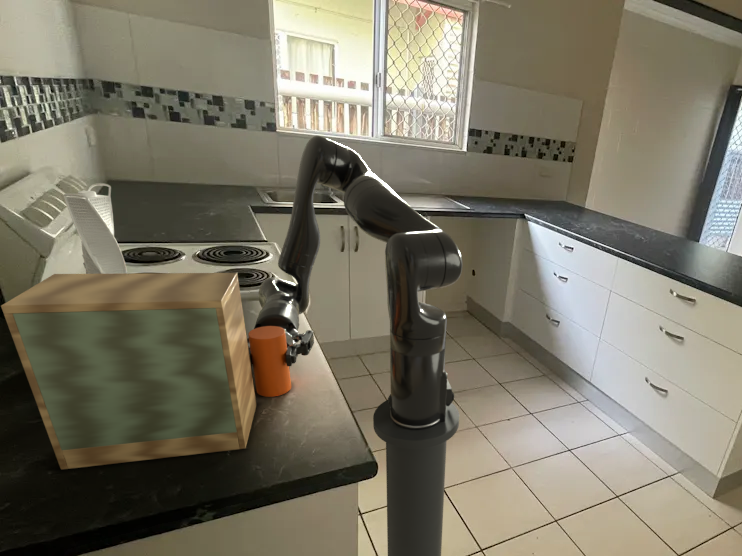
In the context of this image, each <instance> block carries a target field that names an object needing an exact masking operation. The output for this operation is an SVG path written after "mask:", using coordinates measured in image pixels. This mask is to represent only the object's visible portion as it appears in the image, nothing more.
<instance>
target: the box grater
mask: <svg viewBox="0 0 742 556" xmlns="http://www.w3.org/2000/svg"><path fill="white" fill-rule="evenodd" d="M101 186H102V187H108V193H107V195H106V194H105V195H103V194H97V192H96V191H95V190H93V188H95V187H101ZM111 193H112V186H111V185H110V184H108V183H105V182H104V183H103V182H96V183H93V184H91V185H90V186H89V187H88V188H87V190H79V191H77V193H76V192H75V193H74V192H66V193H64V194H63V199H64V202H65V205H66V208H67V211H68V212H69V216H70V217H71V220H72V223H73V225H74V228H75V230H76V233H77V234H78V236H79V238H80V240H81V243H80V244H81V251H82V255H81V256H82V259H83V266H84V270H85V274H127V273H128V269H127V264H126V261H125V258H124V255H123V253H122V250H121V247H120V245H119V243H118V241H117V239H116V237H115V226H114V225H115V224H114V223H115V222H114V213H113V204H112V197H111V195H112V194H111Z"/></svg>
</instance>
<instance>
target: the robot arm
mask: <svg viewBox="0 0 742 556" xmlns="http://www.w3.org/2000/svg"><path fill="white" fill-rule="evenodd" d="M317 185H321V186H324V187H327V188H330V189H332V190H334V191H338V192H340V193H343V206H344V209H345V212H346V213H347V215H348V216H349V218H350V219H351V220H352V221H353V222H354V224H355V225H356V226H357V227H358V228H359V229H360V231H362V232H363V233H365V234H366V235H367V236H369V237H371V238H374V239H376V240H377V241H381V242H383V243H386V244H385V249H384V270H385V271H384V272H385V281H386V282H385V283H386V302H387V312H388V319H389V352H390V353H389V369H390V370H389V373H390V375H389V376H390V381H389V382H390V394H389V396H388V397H387V400H388V403H389V402H390V400H391V411H390V418H391V420H392V422H393V423H394V424H396V425H397V426H399V427H401V428H405V429H410V430H422V429H427V428H431V427H433V426H435V425H437V424H438V423H440V422H445V416H446V406H450V404H451V403H453V402H454V400H455V393H454V392H453V389H452V386H451V384H450V382H449V378H448V373H447V372H446V369H445V368H446V341H447V325H448V324H447V323H448V322H447V315H446V313H445V311H444V310H443V309H441V308H439V307H438V306H435V305H432V304H430V303H425V302H421V301H419V294H418V293H419V292H425V291H432V290H440V289H444V288H448V287H450V286H452V285H454V284H455V283H457V281H458V280H459V279H460V277H461V275H462V272H463V259H462V254H461V251H460V250H459V249H460V248H459V247H458V245H457V244H456V242H455V240H454V239H453V238H452V237H451V236H450V234H449V233H448V232H447V231H445V230H444V229H442V228H441V227H439V226H437V225H436V224H435V223H433V222H431V221H430V220H428V219H426V217H424V216H423V215H421V214H419V213H418V212H417V210H415V209H414V208H412V207H411V205H409V204H408V203H407V202H406V201H405V200H404V199H402V198H401V197H400V196H399V195H398V194H397V193H396V191H394V189H392V188H391V186H389V185H388V184H387V183H386V182H384V181H383V180H382V179H381V178H380V177H378V175H376V174H375V173H373V172H372V171H371V169H370V168H369V167H368V165H367V163H366V162H365V161H364V160H363V159H362V157H361V155H360V154H359V153H357V152H356V151H355V150H353V149H352V148H350V147H348V146H345V145H343V144H341V143H338V142H336V141H334V140H332V139H329V138H326V137H325V136H322V135H314V136H312V137H311V138H309V140H308V141H307V143H306V144H305V146H304V149H303V152H302V154H301V159H300V162H299V168H298V173H297V179H296V184H295V190H294V195H293V201H292V208H291V216H290V219H289V220H290V221H289V225H288V228H287V232H286V236H285V239H284V242H283V245H282V248H281V251H280V254H279V257H278V262H277V266H278V268H279V269H280V270H281V271H282V272H284V273H285V274H287V275H289V276H290V277H292V278H293V279H294V280H295V281H296V282H292V281H289V280H285V279H283V278H279V277H273V276H272V277H268V278H265V279H264V280H263V281H262V282H261V283H260V285H259V289H258V302H259V305H260V307H261V310H260V311H259V313H258V315H257V318H256V322H255V324H254V327H253V329H255V328H259V327H264V326H277V327H281V328H283V329H284V330H285V334H286V343H287V352H286V362H287V366H289V367H292V366H293V364H296V363H297V358H298V356H299V355H301V356H308V355H309V354H310V352H311V350H312V348H313V347H314V345H315V335H314V330H312V329H308V330H306V331H305V332H303V333H300V332H299V328H300V317H299V316H300V315H302V314H304V313H305V311H307V310H308V308H309V304H310V285H311V284H310V282H311V275H312V271H313V267H314V265H315V262H316V259H317V256H318V253H319V250H320V247H321V233H320V228H319V224H318V220H317V217H316V212H315V207H314V195H315V191H316V187H317ZM246 336H247V343H248V350H249V357H250V364H251V368H253V363H252V357H251V350H250V343H249V336H248V335H246Z"/></svg>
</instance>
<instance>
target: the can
mask: <svg viewBox="0 0 742 556" xmlns="http://www.w3.org/2000/svg"><path fill="white" fill-rule="evenodd" d="M247 336H249V343H250V350H251V357H252V363H253V364H252V369H253V377H254V385H255V389H256V390H255V391H256V393H257V394H258V395H259V396H262V397H265V398H274V397H279V396H281V395H284V394H287V393H288V392H289V391H290V390H291V389H292V380H291V371H290V370H291V369H290V366H287V362H286V352H287V343H286V334H285V330H284V329H283V328H281V327H277V326H264V327H259V328H255V329H254V328H253V329H251V330H250V331H249V332H248V334H247Z"/></svg>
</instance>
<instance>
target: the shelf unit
mask: <svg viewBox="0 0 742 556" xmlns="http://www.w3.org/2000/svg"><path fill="white" fill-rule="evenodd" d="M0 307H1V310H2V312H3V316H4V318H5V321H6V325H7V326H8V327H7V328H8V329H9V332H10V335H11V338H12V340H13V343H14V346H15V349H16V351H17V354H18V357H19V359H20V362H21V365H22V368H23V370H24V373H25V376H26V379H27V381H28V384H29V387H30V389H31V392H32V395H33V397H34V398H33V399H34V401H35V403H36V407H37V408H38V411H39V414H40V417H41V419H42V422H43V425H44V427H45V430H46V433H47V435H48V438H49V441H50V444H51V446H52V450H53V452H54V454H55V458H56V460H57V463H58V466H59V469H60V470H68V469H71V470H72V469H78V468H79V469H80V468H88V467H95V466H104V465H105V466H107V465H113V464H121V463H130V462H140V461H148V460H157V459H158V460H159V459H166V458H174V457H175V458H176V457H183V456H192V455H199V454H200V455H201V454H209V453H217V452H227V451H236V450H243V449H247V444H248V440H249V437H250V432H251V429H252V425H253V420H254V416H255V412H256V408H257V400H256V399H257V398H256V392H255V391H256V390H255V383H254V378H253V377H254V376H253V371H252V367H251V364H250V357H249V350H248V343H247V336H248V335H247V331H246V323H245V317H244V309H243V303H242V295H241V289H240V281H239V275H238V272H183V273H182V272H164V273H163V272H159V273H158V272H156V273H155V272H151V273H150V272H148V273H147V272H146V273H145V272H144V273H143V272H141V273H140V272H139V273H128V272H127V274H86V273H53V274H51V275H50V276H48V277H47V278H45V279H44V280H41V281H40V282H39V283H37V284H34V285H33V286H32V287H30V288H28V289H27V290H24V291H23V292H22V293H20V294H17V296H15V297H13V298H11V299H10V300H9V301H6V302H5V303H3V304H1V305H0Z"/></svg>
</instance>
